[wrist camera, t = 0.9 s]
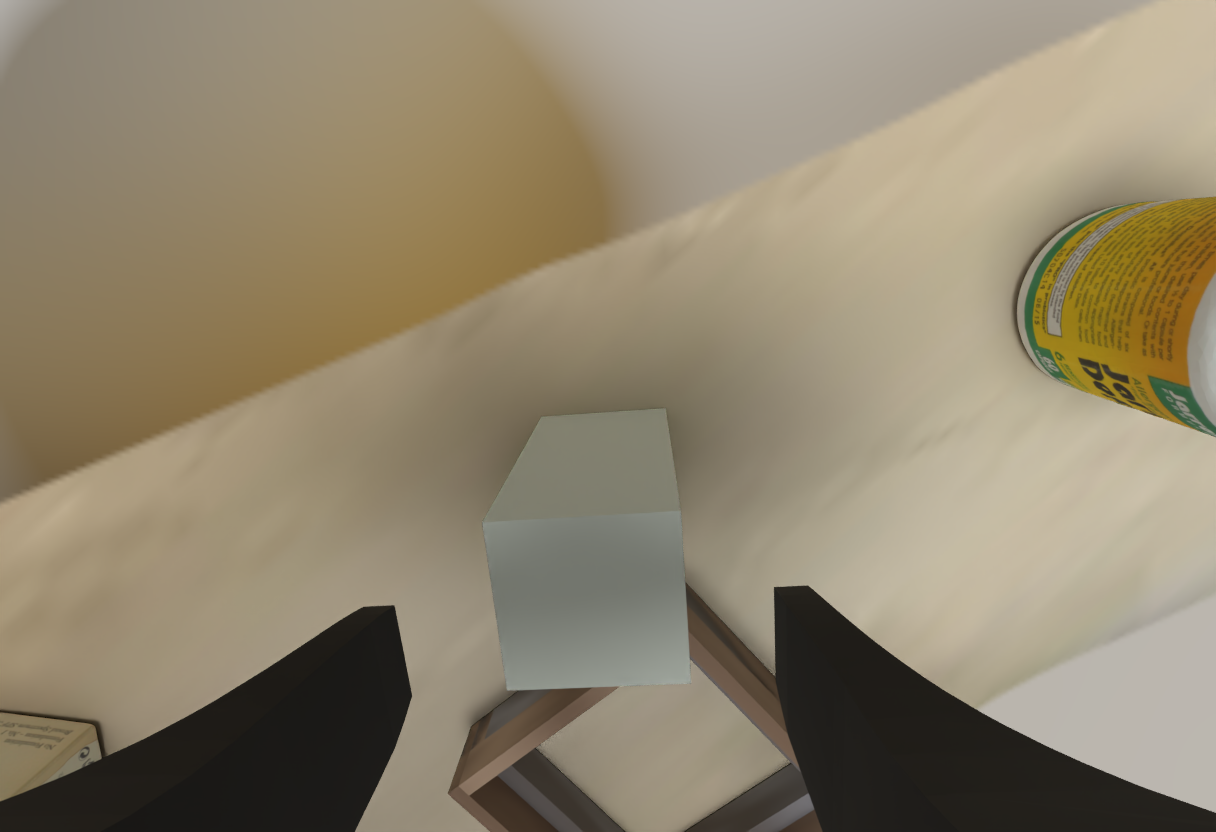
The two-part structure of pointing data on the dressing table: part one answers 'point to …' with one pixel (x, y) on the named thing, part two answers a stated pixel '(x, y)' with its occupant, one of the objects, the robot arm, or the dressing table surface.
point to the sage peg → (591, 556)
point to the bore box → (507, 737)
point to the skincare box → (42, 751)
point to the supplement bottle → (1130, 308)
